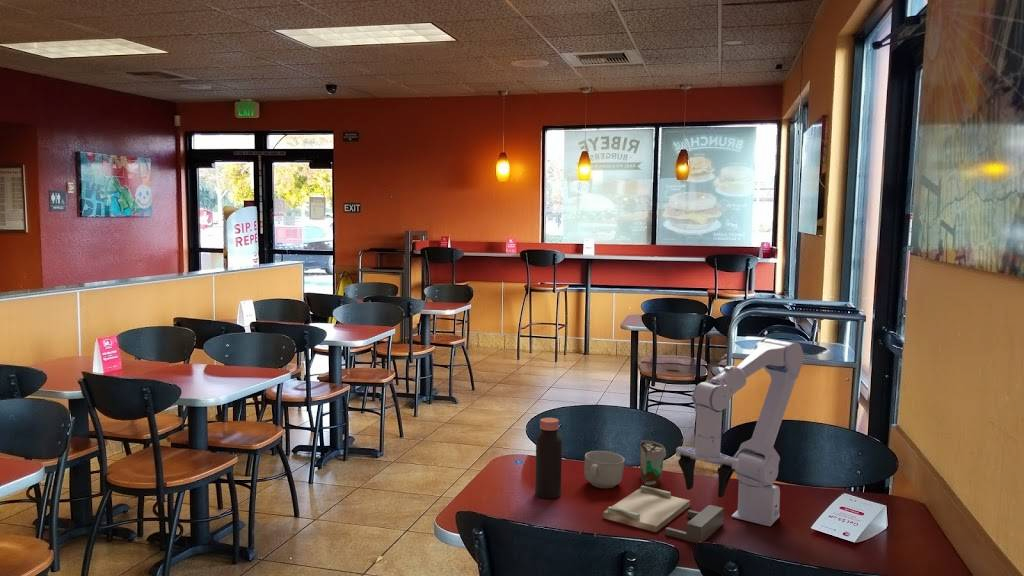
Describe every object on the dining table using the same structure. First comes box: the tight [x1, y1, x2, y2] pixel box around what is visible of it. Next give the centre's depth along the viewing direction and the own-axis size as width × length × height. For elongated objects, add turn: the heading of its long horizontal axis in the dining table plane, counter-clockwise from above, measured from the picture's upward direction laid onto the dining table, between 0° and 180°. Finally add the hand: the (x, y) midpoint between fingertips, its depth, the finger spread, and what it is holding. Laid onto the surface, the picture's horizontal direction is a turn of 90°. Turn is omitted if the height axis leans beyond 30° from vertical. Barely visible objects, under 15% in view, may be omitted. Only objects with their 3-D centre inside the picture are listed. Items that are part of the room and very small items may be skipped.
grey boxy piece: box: [664, 504, 724, 544], centre depth 180 cm, size 8×14×4 cm, turn 145°
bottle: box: [534, 417, 563, 500], centre depth 200 cm, size 7×7×20 cm
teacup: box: [583, 450, 626, 489], centre depth 207 cm, size 14×11×8 cm
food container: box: [639, 439, 667, 488], centre depth 211 cm, size 12×6×10 cm, turn 179°
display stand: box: [602, 484, 691, 533], centre depth 190 cm, size 14×20×3 cm
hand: (705, 492), depth 178 cm, fingers open, 7 cm apart
